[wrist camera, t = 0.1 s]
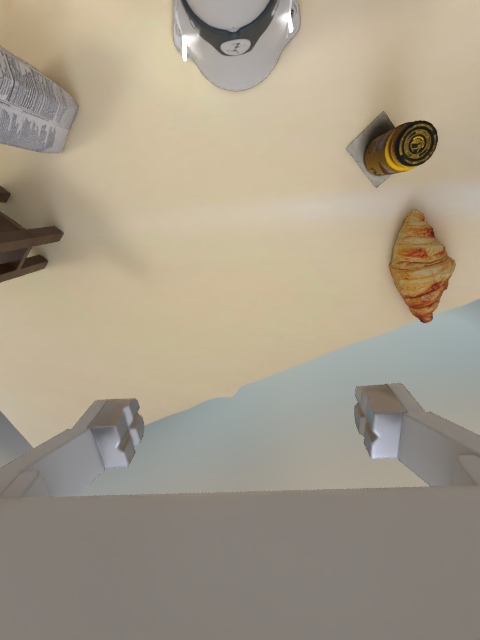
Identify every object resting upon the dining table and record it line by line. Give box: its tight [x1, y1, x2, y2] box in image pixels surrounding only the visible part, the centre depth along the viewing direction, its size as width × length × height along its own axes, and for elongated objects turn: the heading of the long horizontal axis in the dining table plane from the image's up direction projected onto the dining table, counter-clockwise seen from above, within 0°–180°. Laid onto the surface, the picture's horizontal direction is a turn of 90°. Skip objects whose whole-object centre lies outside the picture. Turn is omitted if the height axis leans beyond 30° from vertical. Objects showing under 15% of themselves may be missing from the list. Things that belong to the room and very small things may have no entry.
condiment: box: [346, 111, 438, 188], centre depth 43 cm, size 7×8×12 cm
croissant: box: [389, 210, 456, 323], centre depth 53 cm, size 21×10×8 cm, turn 18°
